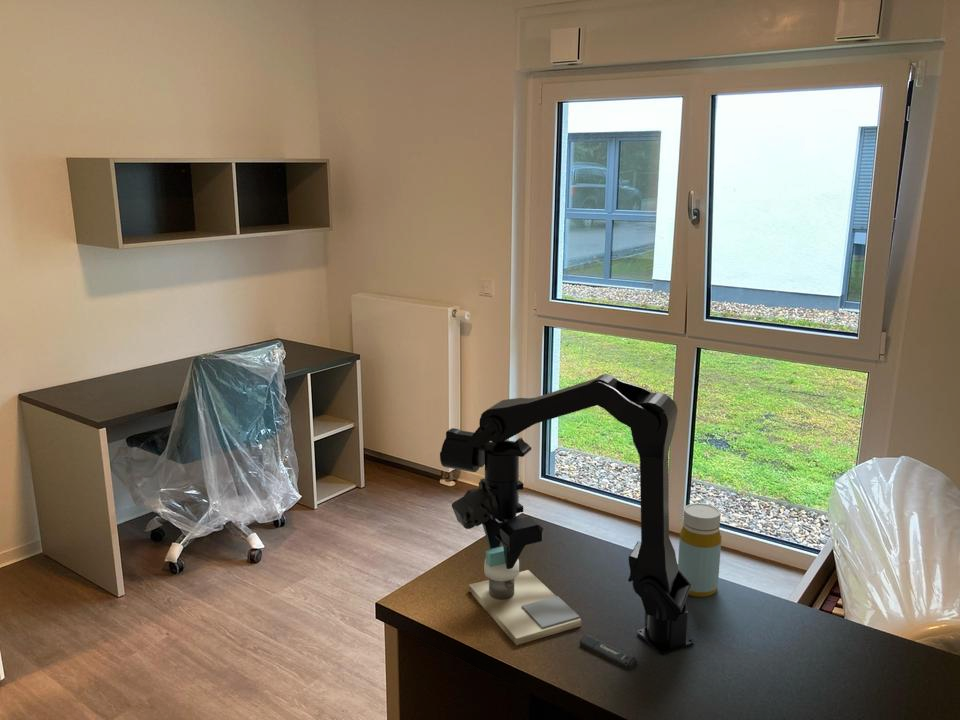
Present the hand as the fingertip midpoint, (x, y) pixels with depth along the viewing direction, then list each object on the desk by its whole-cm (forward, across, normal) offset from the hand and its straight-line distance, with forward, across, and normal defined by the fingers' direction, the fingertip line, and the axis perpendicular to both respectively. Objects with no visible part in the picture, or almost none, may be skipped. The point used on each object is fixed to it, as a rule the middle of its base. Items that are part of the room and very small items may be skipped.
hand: (501, 560), depth 133 cm
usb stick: (+8, +21, +8) cm, 24 cm away
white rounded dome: (+2, 0, 0) cm, 2 cm away
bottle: (+8, +12, +33) cm, 36 cm away
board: (+7, +4, +2) cm, 9 cm away
